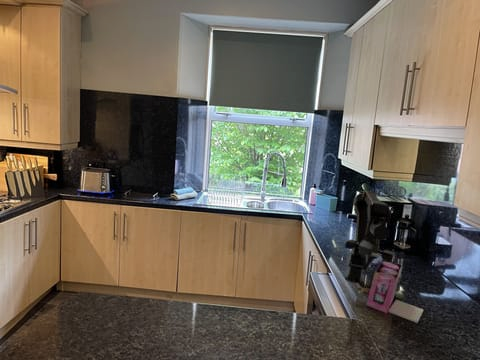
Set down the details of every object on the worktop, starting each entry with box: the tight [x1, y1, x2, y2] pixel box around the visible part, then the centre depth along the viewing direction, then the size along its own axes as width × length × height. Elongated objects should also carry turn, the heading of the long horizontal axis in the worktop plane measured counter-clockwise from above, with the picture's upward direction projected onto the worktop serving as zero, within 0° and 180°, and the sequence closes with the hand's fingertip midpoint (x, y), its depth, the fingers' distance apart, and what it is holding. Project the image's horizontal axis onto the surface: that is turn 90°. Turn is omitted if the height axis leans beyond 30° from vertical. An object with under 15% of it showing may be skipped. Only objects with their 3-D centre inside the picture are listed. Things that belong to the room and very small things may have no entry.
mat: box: [387, 299, 424, 324], centre depth 138 cm, size 14×10×1 cm
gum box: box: [365, 259, 403, 314], centre depth 143 cm, size 24×8×14 cm, turn 151°
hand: (365, 270), depth 148 cm, fingers closed
